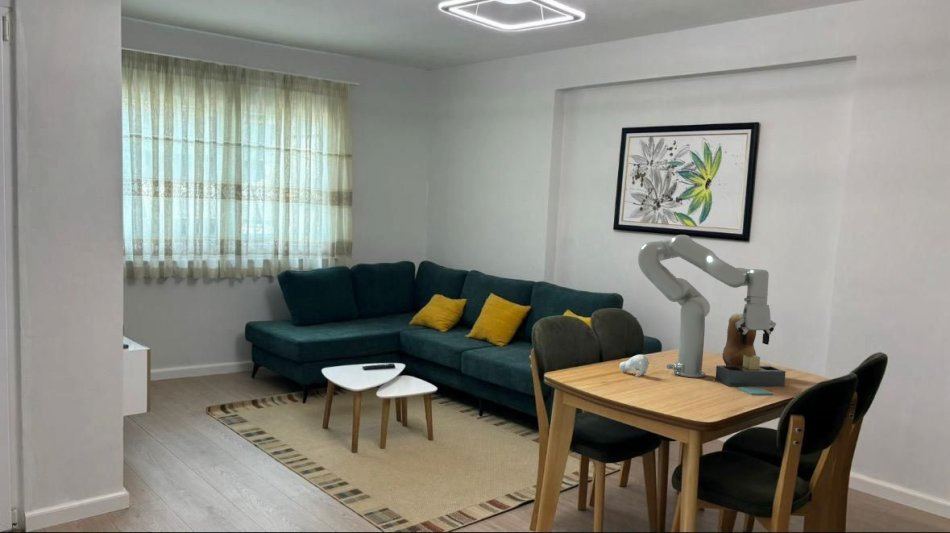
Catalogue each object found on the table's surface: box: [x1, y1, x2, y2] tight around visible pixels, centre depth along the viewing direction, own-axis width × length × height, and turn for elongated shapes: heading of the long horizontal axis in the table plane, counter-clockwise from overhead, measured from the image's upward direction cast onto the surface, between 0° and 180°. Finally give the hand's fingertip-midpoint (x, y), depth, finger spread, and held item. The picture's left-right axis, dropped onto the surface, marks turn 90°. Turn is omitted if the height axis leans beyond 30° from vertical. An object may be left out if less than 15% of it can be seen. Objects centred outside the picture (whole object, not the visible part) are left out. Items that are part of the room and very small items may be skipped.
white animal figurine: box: [619, 354, 650, 378], centre depth 291 cm, size 6×8×12 cm
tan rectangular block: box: [743, 355, 761, 370], centre depth 285 cm, size 4×4×11 cm
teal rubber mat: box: [737, 387, 774, 396], centre depth 272 cm, size 9×9×1 cm
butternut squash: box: [722, 312, 757, 366], centre depth 304 cm, size 14×13×25 cm
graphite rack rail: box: [715, 365, 787, 388], centre depth 285 cm, size 24×10×6 cm, turn 102°
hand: (754, 344), depth 284 cm, fingers open, 9 cm apart
